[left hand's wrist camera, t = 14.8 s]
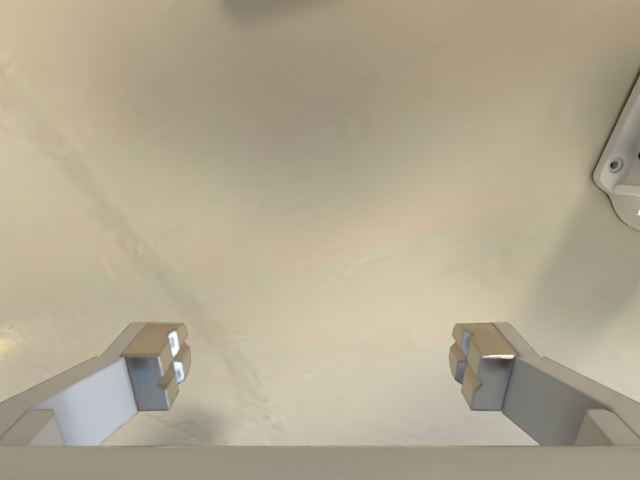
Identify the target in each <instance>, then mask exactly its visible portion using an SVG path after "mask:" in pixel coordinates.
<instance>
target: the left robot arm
mask: <svg viewBox="0 0 640 480" xmlns="http://www.w3.org/2000/svg"><path fill="white" fill-rule="evenodd" d="M612 162H613V165H612V166H611V167H610V165H611V163H612ZM593 180H594V182H595V184H596V185H597V186H598V187H599V188H601V189H602V190H603V191H604V192H606V193H607V194H608V195H609V197H610V199H611V202H612V204H613V207H614V209H615V211H616V213H617V215H618V216H619V218H620V219H621V220H622V221H623V222H624V223H625V224H627V225H628V226H630V227H631V228H633V229H635V230H638V231H640V76H639V78H638V80H637V82H636V84H635V86H634V88H633V90H632V92H631V95H630V97H629V99H628V101H627V103H626V105H625V107H624V109H623V111H622V114H621V116H620V118H619V120H618V122H617V124H616V126H615V128H614V130H613V133H612V135H611V137H610V139H609V141H608V143H607V145H606V147H605V149H604V152H603V154H602V156H601V158H600V160H599V162H598V164H597V166H596V168H595V171H594V173H593ZM187 336H188V334H187V329H186V325H185V324H183V323H157V322H151V323H149V322H134V323H131V324H129V325H128V326H127V328H126V329H125V330H124V331H123V332H122V333H121V334H120V335H119V336H118V337H117V338H116V340H115V341H114V342H113V343H112V344H111V345H110V346H109V347H108V348H107V349H106V350H105V352H104V353H103V354H102V355H101V356H100V357H93V358H91V359H89V360H87V361H85V362H83V363H81V364H79V365H77V366H75V367H72V368H70V369H68V370H66V371H64V372H62V373H60V374H58V375H56V376H54V377H52V378H50V379H48V380H46V381H44V382H42V383H40V384H38V385H36V386H34V387H32V388H30V389H28V390H26V391H24V392H22V393H20V394H17V395H15V396H13V397H11V398H9V399H7V400H5V401H3V402H1V403H0V480H640V403H639V402H637V401H635V400H632V399H630V398H628V397H626V396H624V395H622V394H620V393H618V392H616V391H614V390H612V389H610V388H608V387H606V386H604V385H602V384H600V383H598V382H596V381H594V380H592V379H590V378H588V377H586V376H584V375H582V374H580V373H578V372H576V371H574V370H572V369H569V368H567V367H565V366H563V365H561V364H559V363H557V362H555V361H553V360H551V359H549V358H547V357H540V356H539V355H538V354H537V353H536V352H535V350H534V349H533V348H532V347H531V346H530V345H529V344H528V343H527V342H526V341H525V340H524V338H523V337H522V336H521V335H520V334H519V333H518V332H517V331H516V330H515V329H514V328H513V326H512V325H511V324H509V323H507V322H493V323H457V324H455V326H454V328H453V333H452V336H453V337H454V339H455V341H456V342H455V343H454V344H453V345H452V346H451V347H450V353H449V362H450V368H451V372H452V374H453V377H454V379H455V380H456V381H457V382H459V383H460V384H462V390H461V392H462V394H463V396H464V398H465V400H466V402H467V404H468V406H469V408H470V410H474V411H502V413H503V414H504V415H505V416H506V417H508V418H509V419H510V420H511V421H512V422H514V423H515V424H516V425H517V426H518V427H520V428H521V429H522V430H523V431H524V432H526V433H527V434H528V435H529V436H530V437H532V438H533V439H534V440H535V441H536V442H538V443H539V444H540V445H541V446H99V445H100V444H101V443H102V442H104V441H105V440H106V439H107V438H108V437H110V436H111V435H112V434H113V433H115V432H116V431H117V430H118V429H119V428H121V427H122V426H123V425H124V424H125V423H127V422H128V421H129V420H130V419H131V418H133V417H134V416H135V415H136V414H137V413H138V411H165V410H170V408H171V406H172V404H173V402H174V400H175V398H176V396H177V394H178V392H179V390H178V384H180V383H181V382H183V381H184V380H185V379H186V376H187V374H188V372H189V368H190V363H191V352H190V347H189V346H188V345H187V344H186V343H185V342H184V341H185V339H186V337H187Z"/></svg>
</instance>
